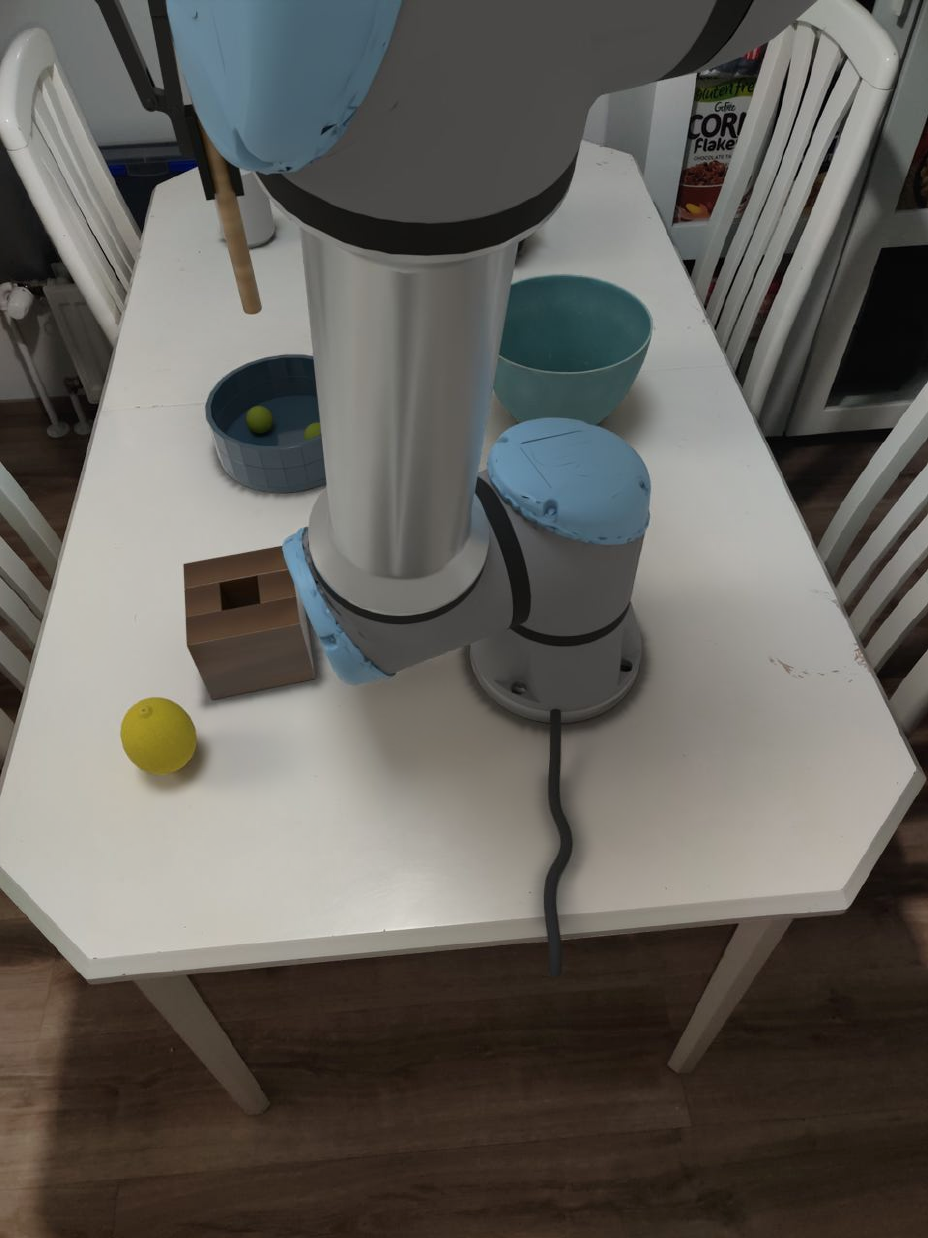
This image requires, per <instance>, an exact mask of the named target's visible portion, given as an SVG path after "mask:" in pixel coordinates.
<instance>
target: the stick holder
mask: <svg viewBox="0 0 928 1238" xmlns="http://www.w3.org/2000/svg"><path fill="white" fill-rule="evenodd" d="M182 569H183V570H182V571H183V591H184V612H185V613H184V614H185V636H186V637H185V639H186V641H185V642H186V647H187V650H188V652H189V654H190V656H191V658H192V660H193V663H194V665H195V667H196V669H197V671H198V673H199V675H200V677H201V680H202V682H203V685H204V686H205V688H206V690H207V692H208V695H209V697H210V699H211V700H218V699H222V698H226V697H227V698H228V697H232V696H237V695H243V694H247V693H252V692H256V691H257V692H258V691H261V690H262V691H263V690H266V689H272V688H276V687H280V686H287V685H291V684H295V683H300V682H301V683H302V682H306V681H311V680H316V672H315V665H314V660H313V659H314V658H313V652H312V646H311V645H312V644H311V640H310V639H311V638H310V633H309V627H308V620H307V612H306V610H305V608H304V605H303V603H302V601H301V598H300V596H299V594H298V591H297V589H296V586H295V584H294V581H293V579H292V577H291V574H290V572H289V569H288V566H287V564H286V561H285V558H284V554H283V550H282V545H278V546H272V547H267V548H262V549H257V550H251V551H245V552H240V553H234V554H230V555H225V556H218V557H213V558H208V559H207V558H206V559H201V560H196V561H191V562H186V563H183V564H182Z"/></svg>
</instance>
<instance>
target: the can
mask: <svg viewBox="0 0 928 1238" xmlns="http://www.w3.org/2000/svg"><path fill="white" fill-rule="evenodd" d="M239 169H240V168H239ZM240 173H241V178H242V183H243V189H244V195H245V196H238V197H237V200H238V205H239V209H240V213H241V218H242V222H243V226H244V231H245V235H246V239H247V244H248V248H249V249H251V248H256V247H260V246H262V245H264V244H266V243H267V242H269V241H270V239H271V238H272V236H274V234H275V232H276V230H275V229H276V226H275V221H274V216H273V211H272V206H271V202H270V201H271V200H270V199H269V198H268V196H267V195H266V194H265V193H264V191H263V190H262V189H261V187H260V185H259V183H258V181H257V179H256V178H255V176H254V173H253V172H251V171H245V170H243V169H240ZM213 202H214V206H215V210H216V214H217V217H218V221H219V226H220V230H221V233H222V234H221V235H222V237H223V238H224V240H225V241H226V238H225V234H224V230H223V226H222V222H221V218H220V214H219V210H218V206H217V202H216V198H215V200H213Z"/></svg>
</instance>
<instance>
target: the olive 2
mask: <svg viewBox="0 0 928 1238" xmlns="http://www.w3.org/2000/svg"><path fill="white" fill-rule="evenodd" d="M320 434H321V425H320V423H319V422H316V423H312V424H311V425H309V426H308V427H307V429H306V430H305V434H304V438H305V440H308V439H311V438H314V437H317V436H319V435H320Z"/></svg>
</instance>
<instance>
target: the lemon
mask: <svg viewBox="0 0 928 1238" xmlns="http://www.w3.org/2000/svg"><path fill="white" fill-rule="evenodd" d="M119 731H120V732H119V733H120V734H119V735H120V740H121V741H120V742H121V745H122V748H123V751H124V753H125V755H126V756H127V758H128V759H129V760H130V762H131V763H132V764H133V765H134V766H135V767H137V768H138V769H139V770H141V771H143V772H145V773H148V774H151V775H161V776H162V775H168V774H171V773H174V772H177V771H178V770H180V769H182V768H184V767H185V766H186V765H187V764H188V763H189V761H190V760H191V759H192V758H193V756H194V753H195V751H196V747H197V741H198V737H197V730H196V726H195V724H194V722H193V720H192V718H191V716H190V714H189V713H188V712H187V711H186V710H185V709H184V708H183V707H182V706H181V705H180V704H178V703H177V702H175V701H173V700H171V699H169V698H166V697H161V696H159V697H158V696H157V697H155V696H153V697H147V698H144V699H142V700H139V701H137V702H136V703H134V704H133V705H132V706H131V707H129V709H128V710H127V712H126V713H125V714H124V716H123V719H122V721H121V724H120V730H119Z"/></svg>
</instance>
